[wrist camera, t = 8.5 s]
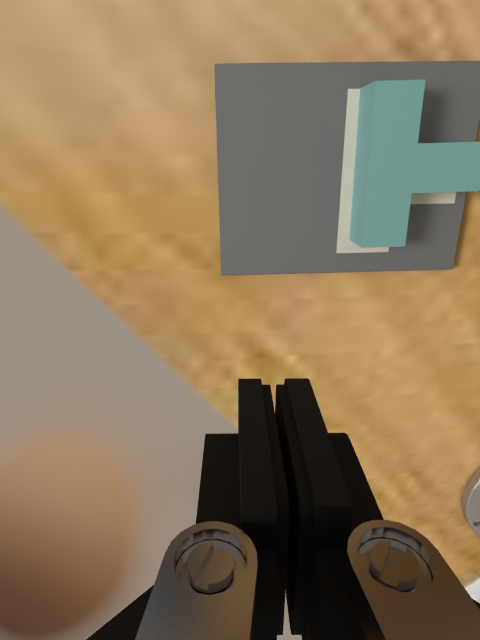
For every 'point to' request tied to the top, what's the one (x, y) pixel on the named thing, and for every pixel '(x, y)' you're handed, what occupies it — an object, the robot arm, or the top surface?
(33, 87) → the top surface
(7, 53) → the top surface
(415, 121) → the t block
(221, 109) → the board
